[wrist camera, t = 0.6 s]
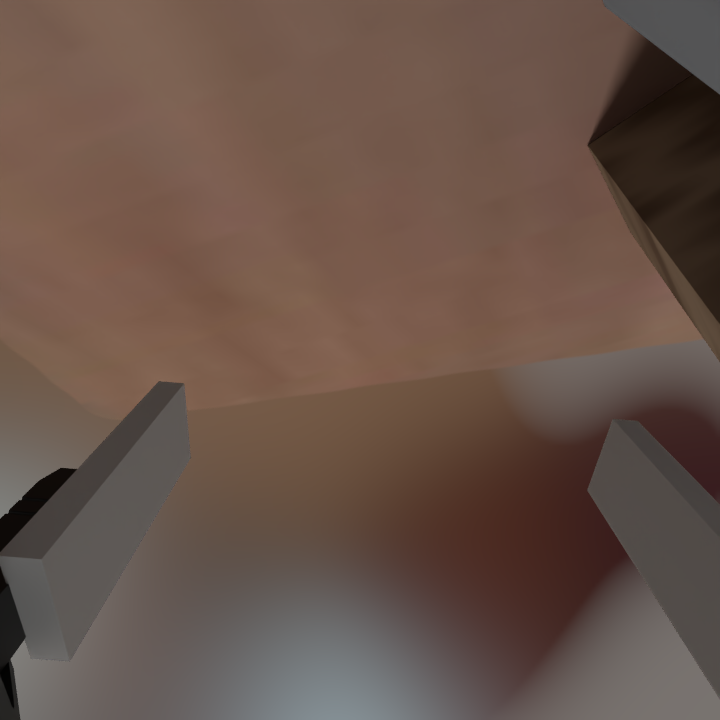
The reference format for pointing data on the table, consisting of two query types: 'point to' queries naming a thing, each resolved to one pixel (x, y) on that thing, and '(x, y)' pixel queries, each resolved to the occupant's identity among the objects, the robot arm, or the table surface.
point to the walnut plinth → (673, 193)
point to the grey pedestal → (679, 31)
